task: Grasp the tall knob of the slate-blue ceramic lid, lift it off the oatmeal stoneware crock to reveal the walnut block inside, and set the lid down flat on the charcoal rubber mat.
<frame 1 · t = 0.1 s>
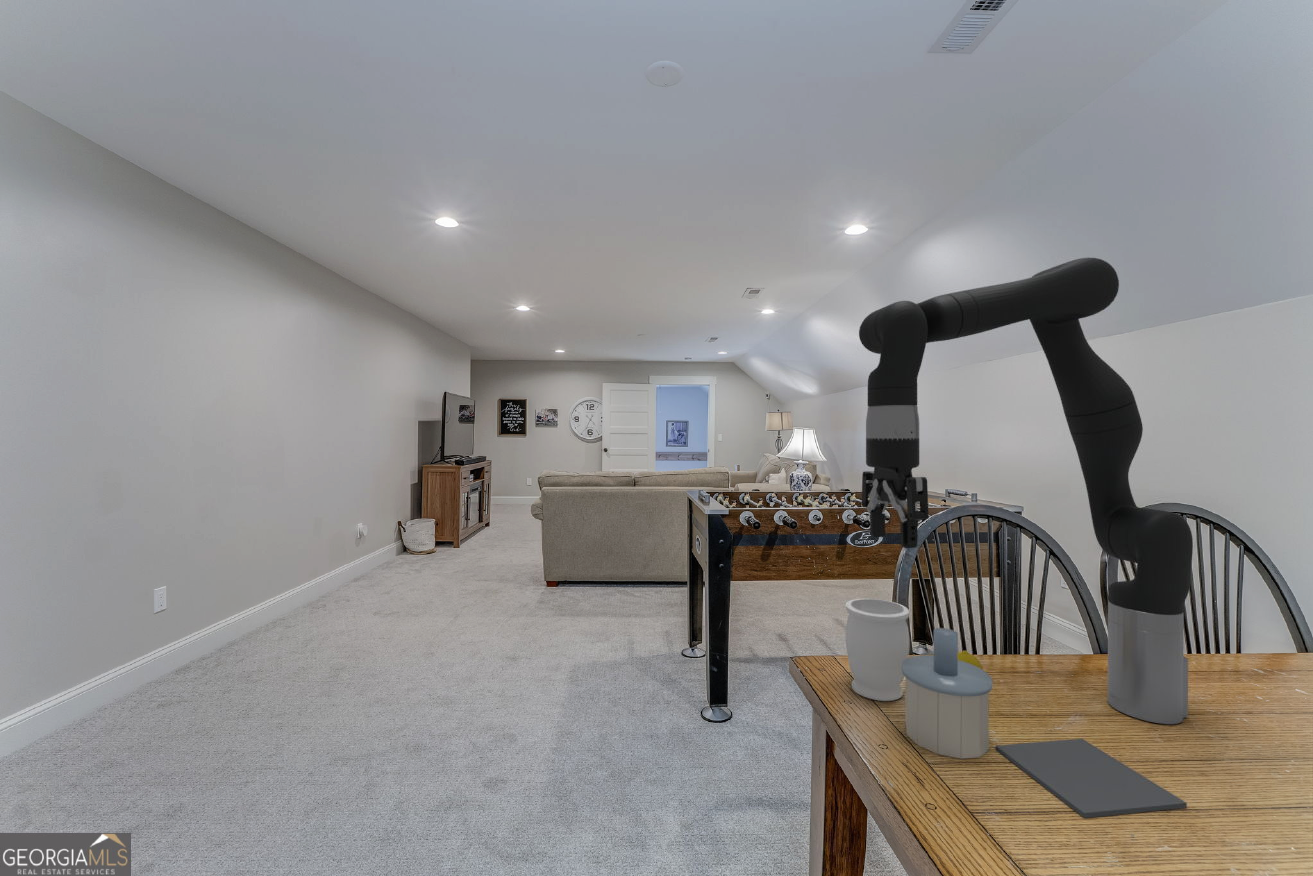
hand: (892, 541, 83), 29 cm above the table, fingers open, 8 cm apart
jar: (876, 692, 96), on the table
lemon: (964, 698, 94), on the table
lid: (945, 677, 81), point 9 cm above the table, touching crock
mat: (1083, 776, 72), on the table
crock: (945, 736, 81), on the table
walnut block: (945, 737, 81), resting in crock
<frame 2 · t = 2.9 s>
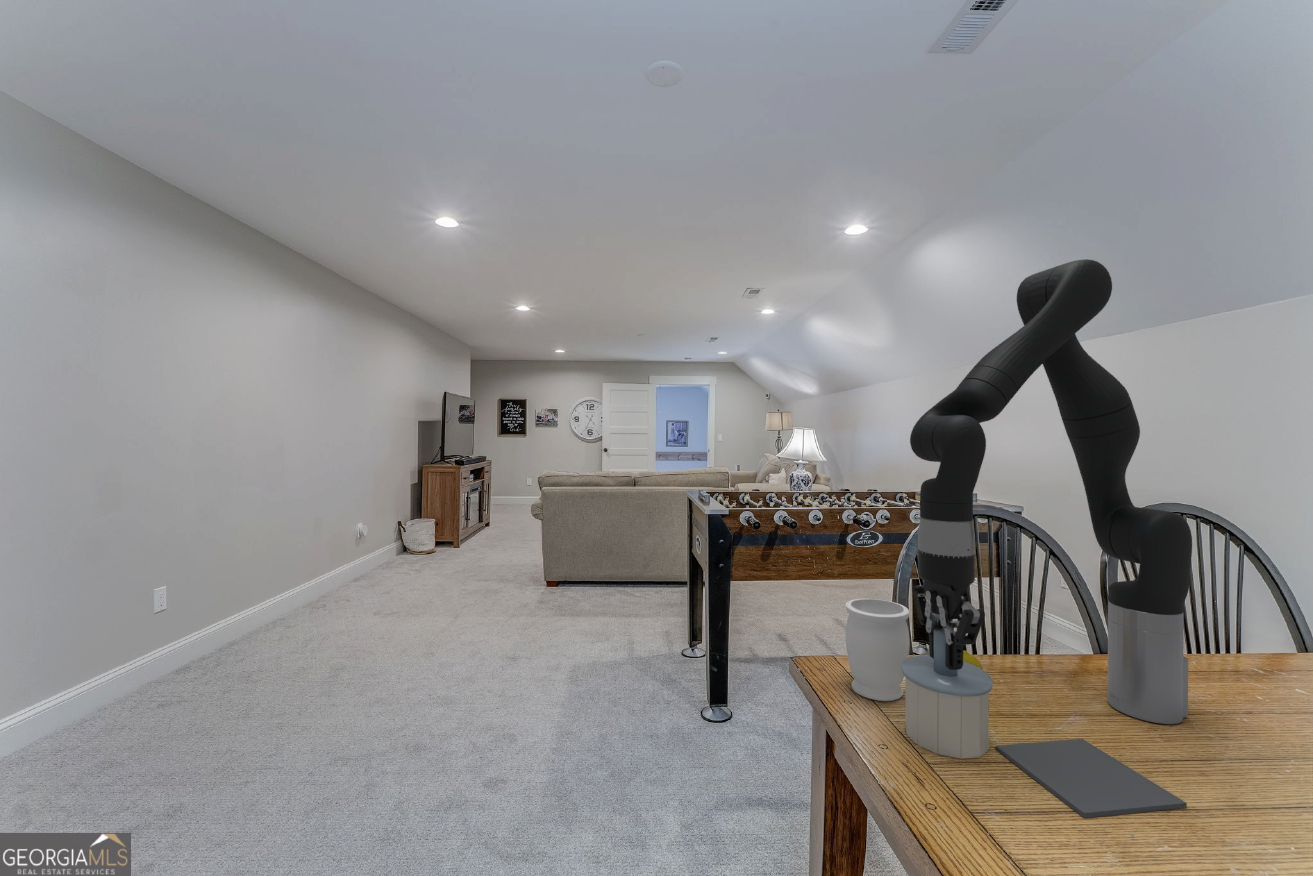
hand: (945, 662, 81), 11 cm above the table, fingers closed on lid, 3 cm apart
lid: (945, 677, 81), point 9 cm above the table, touching crock, gripper
everything else where it was.
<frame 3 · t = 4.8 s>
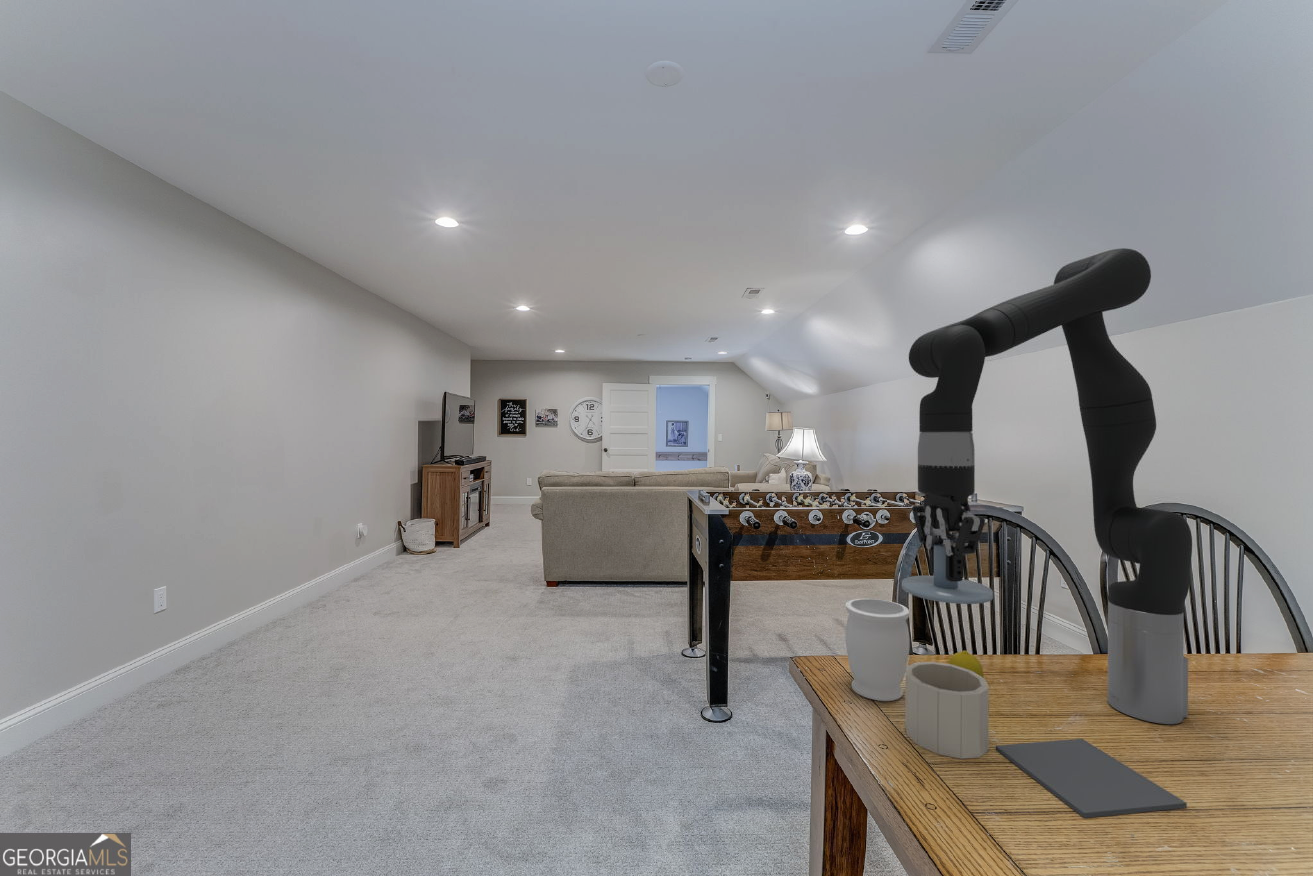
hand: (945, 576, 81), 24 cm above the table, fingers closed on lid, 3 cm apart
lid: (945, 591, 81), point 22 cm above the table, touching gripper
everything else where it was.
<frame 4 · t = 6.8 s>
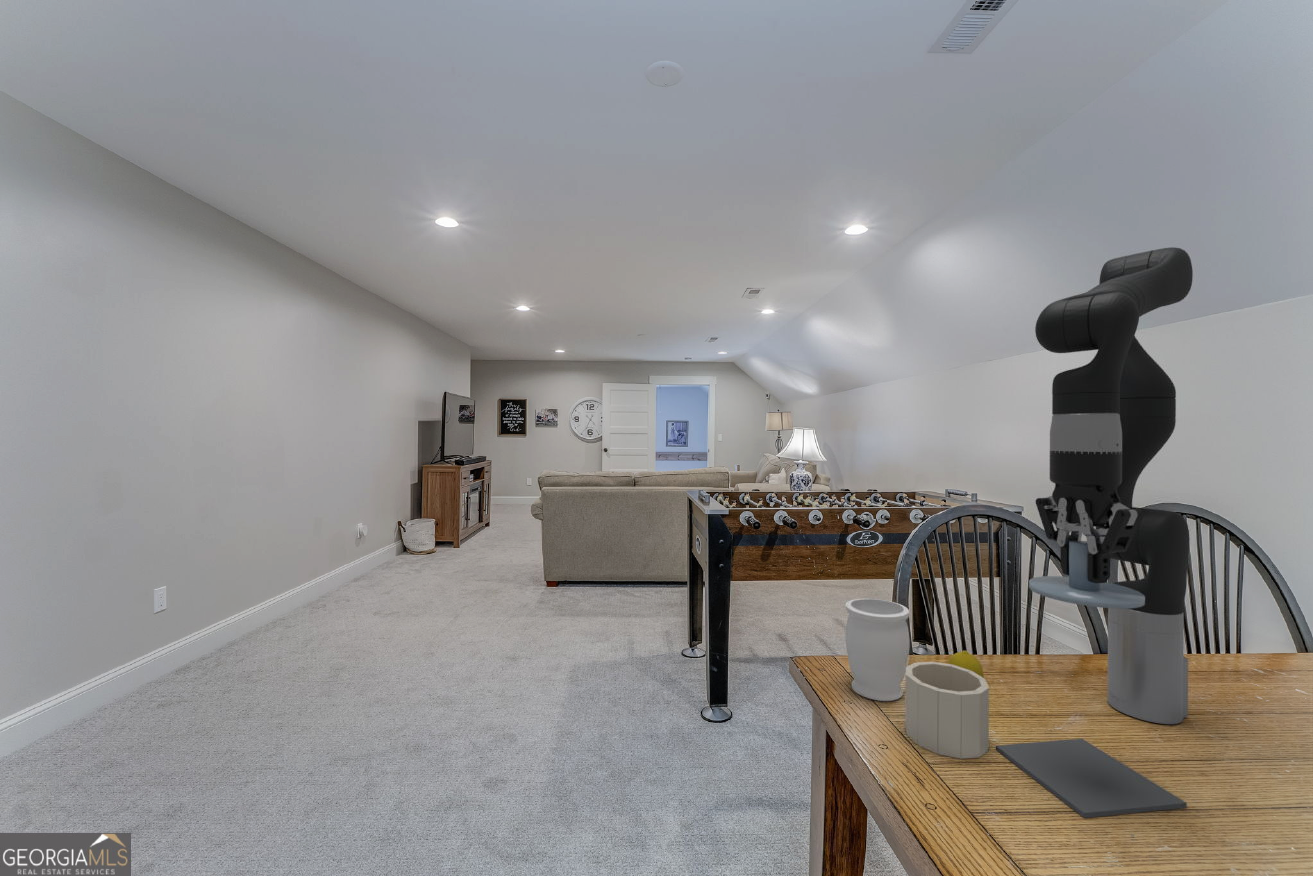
hand: (1084, 577, 72), 26 cm above the table, fingers closed on lid, 3 cm apart
lid: (1083, 594, 72), point 24 cm above the table, touching gripper
everything else where it was.
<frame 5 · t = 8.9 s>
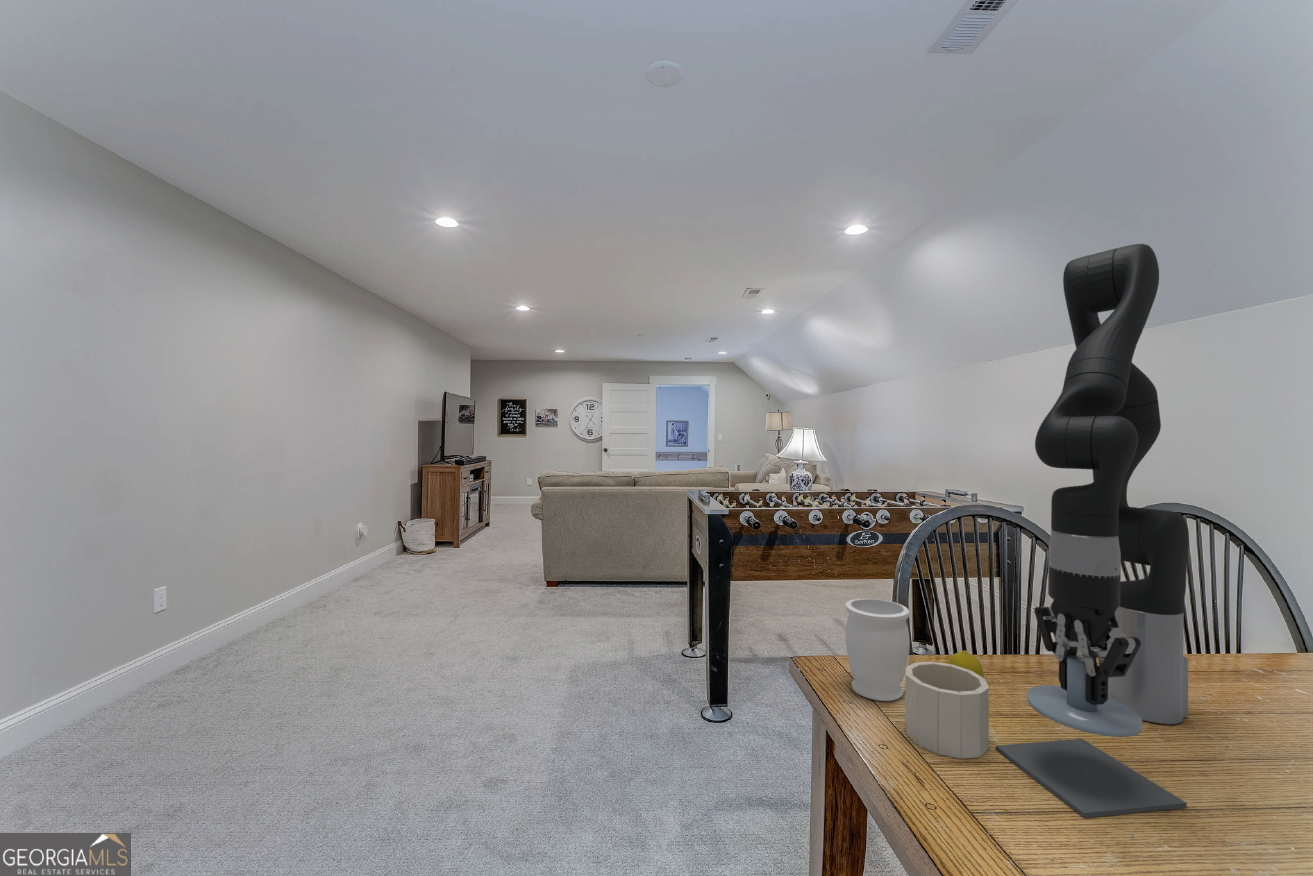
hand: (1082, 695, 72), 11 cm above the table, fingers closed on lid, 3 cm apart
lid: (1081, 711, 72), point 9 cm above the table, touching gripper
everything else where it was.
when the fingers open (5 cm above the table, at t = 10.7 s): lid drops 2 cm, resting on mat.
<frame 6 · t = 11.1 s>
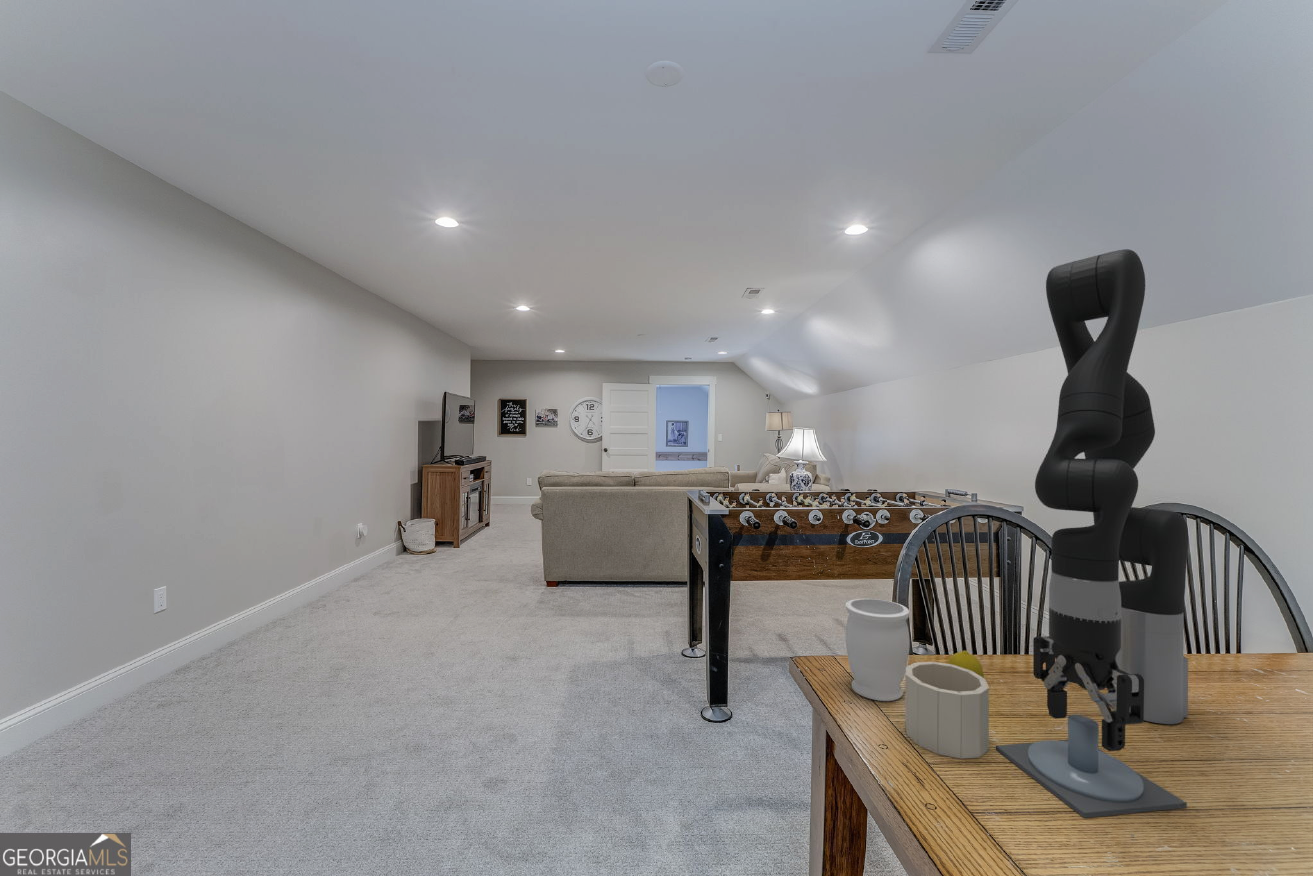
hand: (1083, 732, 72), 6 cm above the table, fingers open, 7 cm apart
lid: (1082, 771, 72), point 1 cm above the table, touching mat
everything else where it was.
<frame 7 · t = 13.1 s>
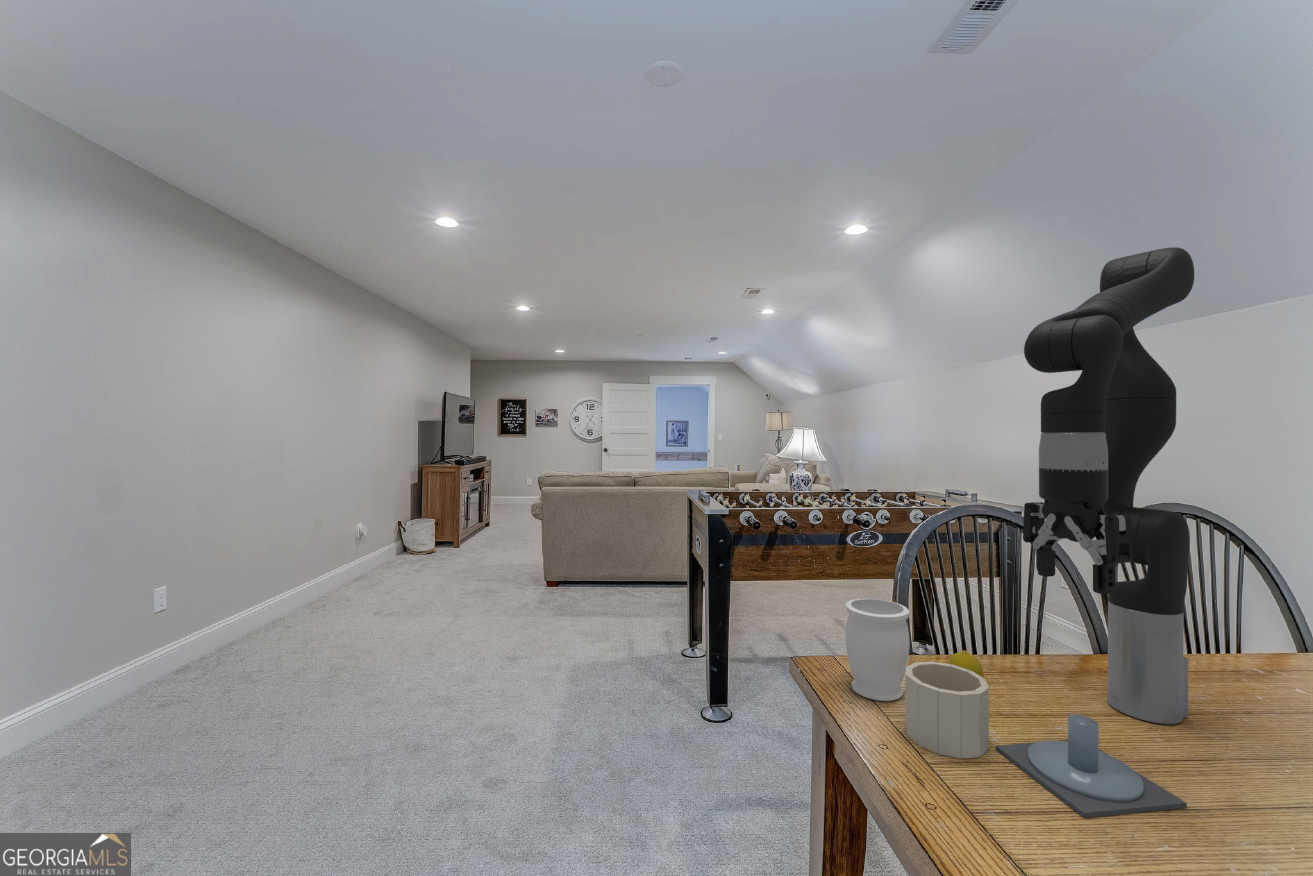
hand: (1072, 583, 74), 25 cm above the table, fingers open, 8 cm apart
nothing on the table moved.
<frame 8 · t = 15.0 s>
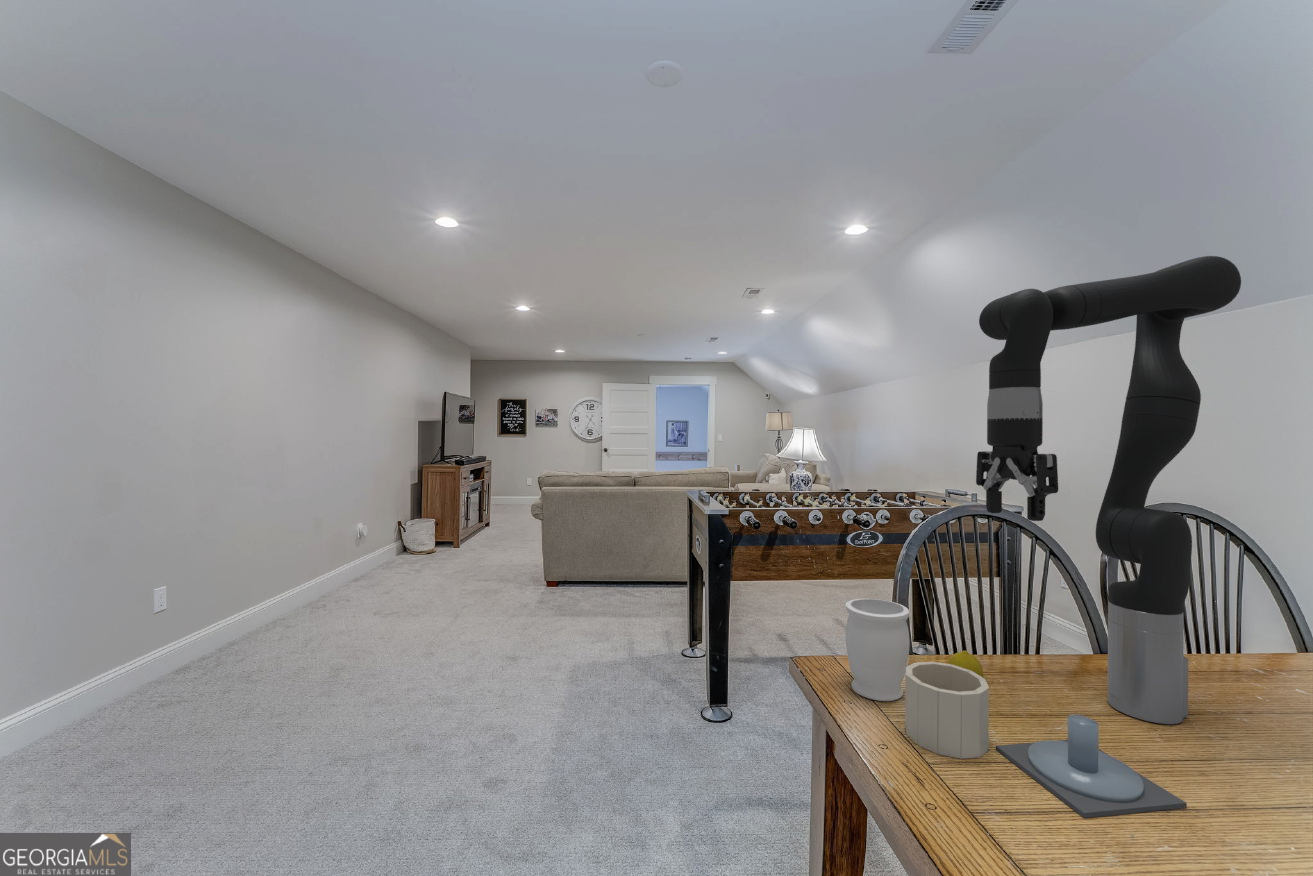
hand: (1013, 516, 88), 32 cm above the table, fingers open, 8 cm apart
nothing on the table moved.
at the end: lid inside the target area on the mat (0.0 cm from its centre), point 0.6 cm above the mat's base; lid touching mat; lid tilted 0° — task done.
